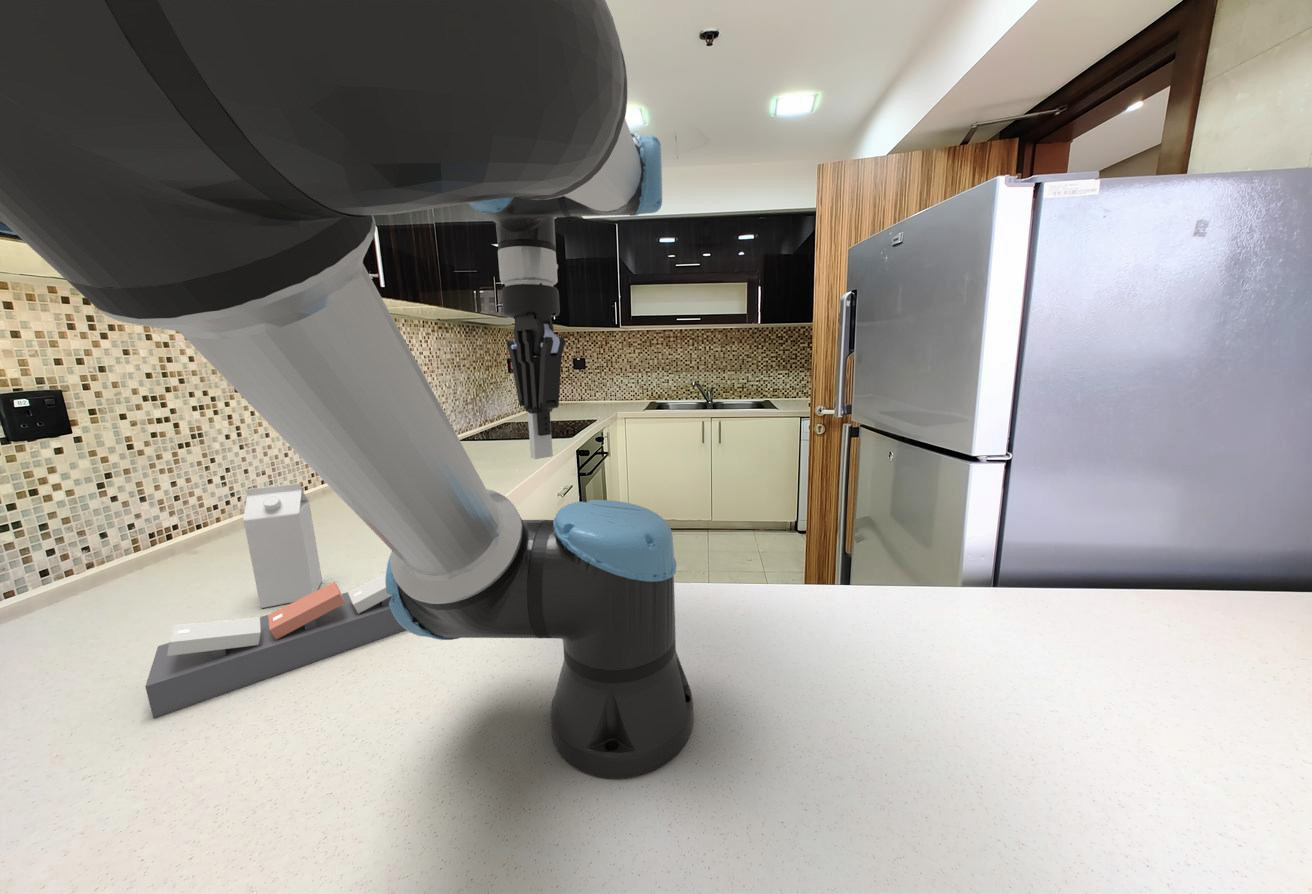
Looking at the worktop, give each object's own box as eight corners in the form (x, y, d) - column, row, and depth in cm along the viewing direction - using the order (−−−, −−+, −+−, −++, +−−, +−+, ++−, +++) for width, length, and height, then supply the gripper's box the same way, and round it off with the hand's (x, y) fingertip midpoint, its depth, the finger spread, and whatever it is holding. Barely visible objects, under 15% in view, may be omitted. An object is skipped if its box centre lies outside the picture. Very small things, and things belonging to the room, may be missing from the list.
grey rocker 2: (416, 582, 70) (412, 572, 70) (358, 613, 66) (352, 604, 65) (408, 571, 74) (404, 562, 73) (352, 600, 69) (347, 591, 69)
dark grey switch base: (477, 605, 76) (474, 575, 75) (153, 718, 53) (143, 678, 52) (456, 583, 83) (453, 556, 82) (165, 674, 60) (156, 638, 59)
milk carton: (273, 590, 82) (253, 484, 79) (322, 581, 85) (305, 478, 81) (260, 609, 76) (238, 495, 72) (314, 599, 79) (295, 488, 75)
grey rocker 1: (258, 644, 59) (260, 631, 59) (166, 656, 54) (169, 641, 54) (257, 628, 63) (259, 616, 62) (171, 637, 57) (174, 624, 57)
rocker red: (345, 603, 64) (339, 593, 64) (276, 639, 60) (269, 629, 59) (340, 590, 68) (334, 581, 67) (274, 624, 64) (267, 614, 63)
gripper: (579, 282, 62) (588, 459, 66) (533, 293, 71) (544, 447, 76) (525, 277, 57) (538, 468, 61) (484, 289, 67) (498, 454, 71)
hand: (541, 456), depth 69 cm, fingers closed
